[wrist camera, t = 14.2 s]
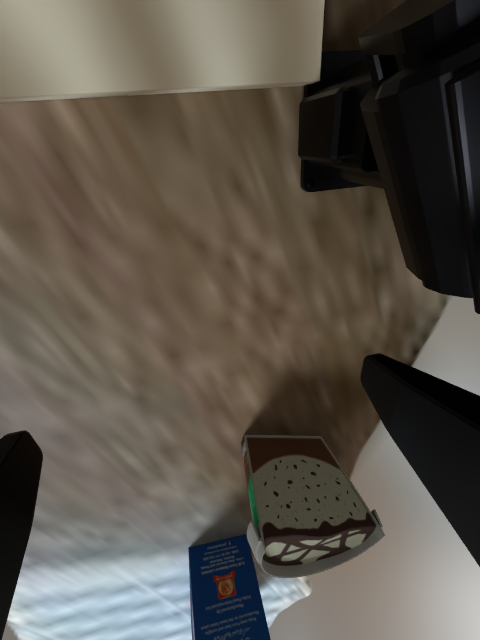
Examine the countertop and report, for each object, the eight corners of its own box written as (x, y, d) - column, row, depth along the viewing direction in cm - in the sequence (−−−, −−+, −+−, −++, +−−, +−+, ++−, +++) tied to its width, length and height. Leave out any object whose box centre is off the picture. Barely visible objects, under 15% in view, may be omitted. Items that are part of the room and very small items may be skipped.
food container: (213, 473, 32) (232, 591, 23) (229, 434, 29) (257, 552, 21) (310, 470, 36) (355, 569, 28) (332, 436, 33) (389, 534, 25)
